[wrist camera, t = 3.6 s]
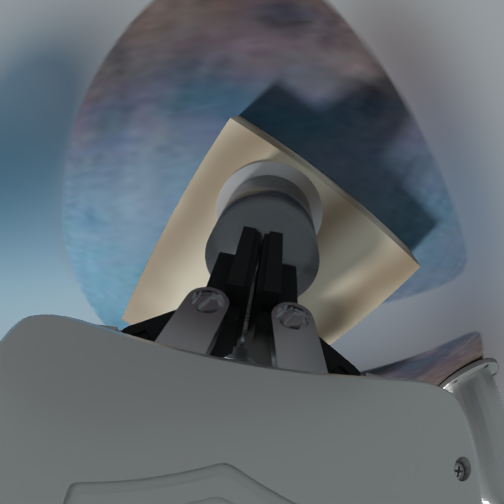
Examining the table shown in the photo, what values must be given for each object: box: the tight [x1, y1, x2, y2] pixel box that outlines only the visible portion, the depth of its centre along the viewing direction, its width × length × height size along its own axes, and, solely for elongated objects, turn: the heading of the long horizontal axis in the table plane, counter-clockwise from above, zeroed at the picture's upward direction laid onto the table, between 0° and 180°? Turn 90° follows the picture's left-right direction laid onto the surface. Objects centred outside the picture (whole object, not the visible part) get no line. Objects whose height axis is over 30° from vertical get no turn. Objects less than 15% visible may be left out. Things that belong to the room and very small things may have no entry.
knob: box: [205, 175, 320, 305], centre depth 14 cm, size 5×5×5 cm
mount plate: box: [122, 115, 420, 345], centre depth 22 cm, size 16×20×3 cm
